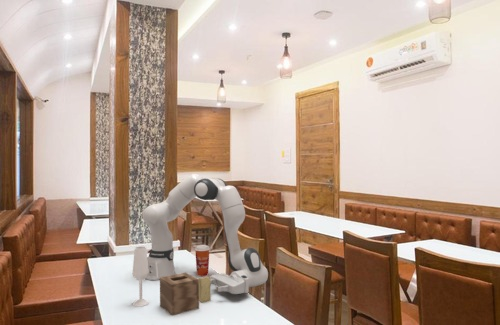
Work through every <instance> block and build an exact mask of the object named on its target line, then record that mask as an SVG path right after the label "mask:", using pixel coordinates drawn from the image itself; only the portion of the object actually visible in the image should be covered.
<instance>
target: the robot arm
mask: <svg viewBox="0 0 500 325" xmlns="http://www.w3.org/2000/svg"><path fill="white" fill-rule="evenodd" d="M196 197H197V198H198V199H200V200H203V201H213V200H216V201H217V202H218V204H219V206H220V209H221V213H222V218H223V230H224V236H225V241H226V246H227V251H228V267H229V268H230V269H231V270H232V272H230V275H229V274H226V273H215V274H212V275H211V276H210V286H212V285H214V286H216V291H217V292H218V293H220V292H228V293H230V294H232V295H238V294H239V295H240V294H247V293H249V292H250V290H249V288H254V287H258V286H262V285H263V284H265V283H266V282H267V280H268V277H269V272H268V269H267V268H266V267H265V266H264V264H263V262H262V261H261V257H260V253H259V251H257V249H255V248H254V247H248V248H245V249H241V247H240V246H241V245H240V241H239V236H238V231H239V229H240V226H241V225H242V224H243V223H244V221H245V218H246V209H245V206H244V203H243V201H242V197H241V196H240V193H239V191H238V189H237V188H236V187H235V186H233V185H228V184H227V182H226V181H224V180H223V179H221V178H215V177H209V178H203V176H201V175H200V174H198V173H191V174H190V175H188V176H187V177H185V178H183V179H182V181H180V182H179V183H178V184H177V185H176V186H175V187H174V188H172V189H171V190H170V191H169V192H168V196H167V198H166V199H164V200H163V201H162V202H159V203H153V204H151V205H149V206H147V207H145V208H144V209H143V212H142V220H143V222H144V223H145V224H146V225H147V226H148V229H149V231H150V235H151V237H150V238H151V249H149V250H146V251H147V254H148V255H147V260H148V270H149V273H148V275H147V277H146V278H145V279H144V280H148V281H158V280H160V277H165V276H170V275H175V274H177V273H176V269H175V264H174V257H175V255H174V252H175V251H174V247H173V246H174V245H173V244H174V243H173V242H174V240H173V238H174V236H173V233H172V232H171V231H170V228H169V224H168V223H169V222H173V221H174V220H175V219H176V220H177V218H178V217H179V216H180V213H181V212H182V210H183V209H184V208H185V207H186V206H187V205H189V204H190V202H191V201H193V200H194V199H195V198H196Z"/></svg>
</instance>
